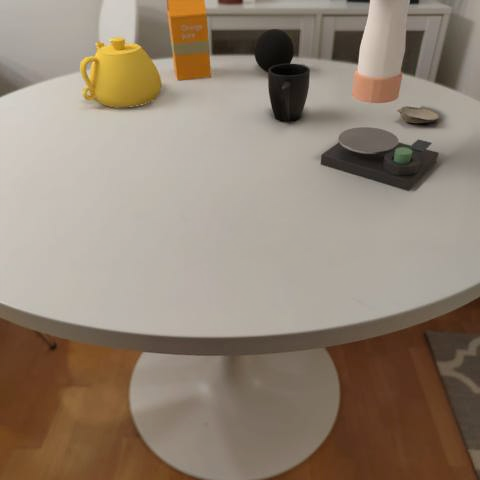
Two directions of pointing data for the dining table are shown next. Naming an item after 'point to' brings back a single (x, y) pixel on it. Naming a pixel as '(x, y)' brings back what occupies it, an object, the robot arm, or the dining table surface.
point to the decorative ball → (273, 49)
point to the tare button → (403, 155)
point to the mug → (288, 90)
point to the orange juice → (189, 38)
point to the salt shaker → (381, 52)
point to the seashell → (417, 115)
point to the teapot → (120, 75)
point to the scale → (381, 165)
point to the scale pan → (374, 141)
